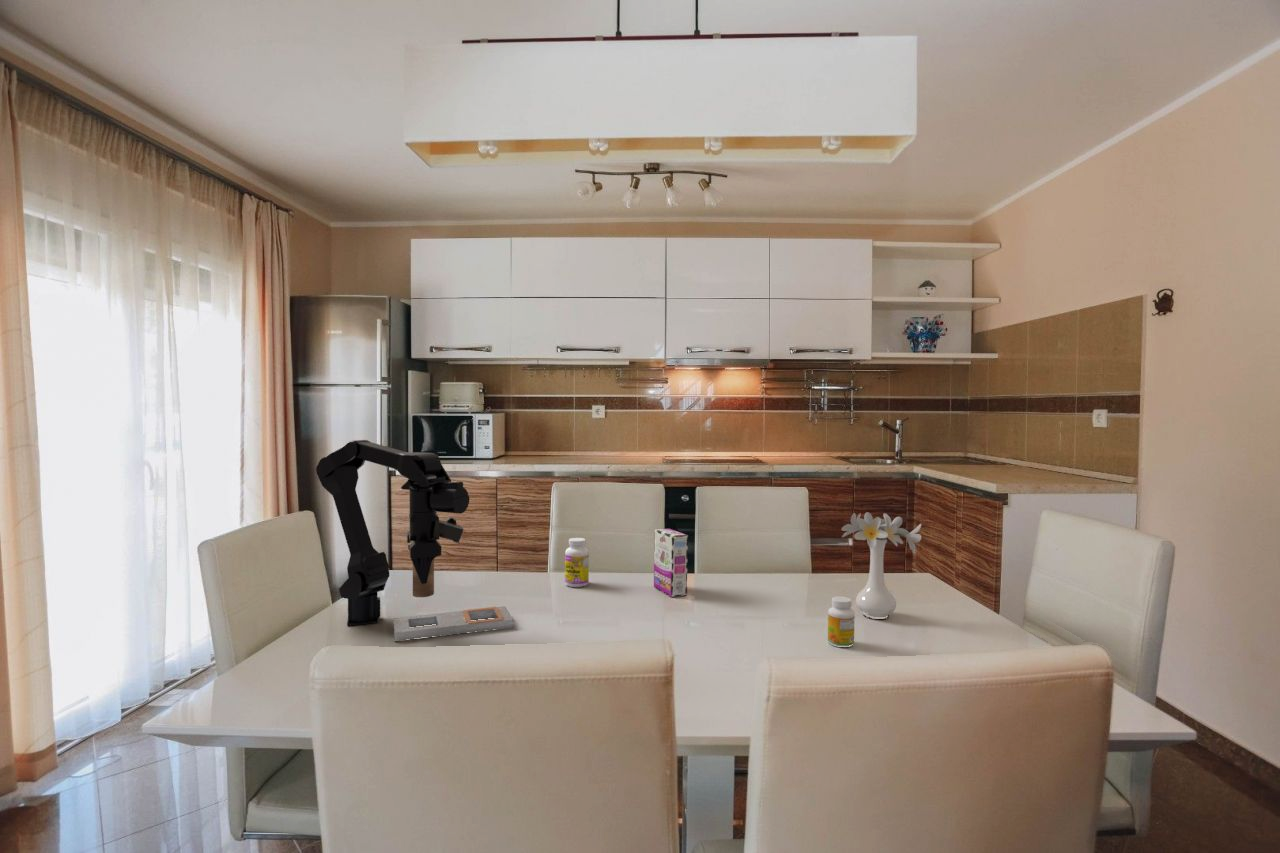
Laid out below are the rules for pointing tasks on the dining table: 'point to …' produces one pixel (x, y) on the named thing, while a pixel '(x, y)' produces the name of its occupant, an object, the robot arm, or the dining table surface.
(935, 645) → the dining table surface
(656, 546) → the candy bar box
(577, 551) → the supplement bottle
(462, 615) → the gray peg socket board
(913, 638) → the dining table surface
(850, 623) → the supplement bottle
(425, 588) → the walnut peg
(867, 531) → the flower vase
